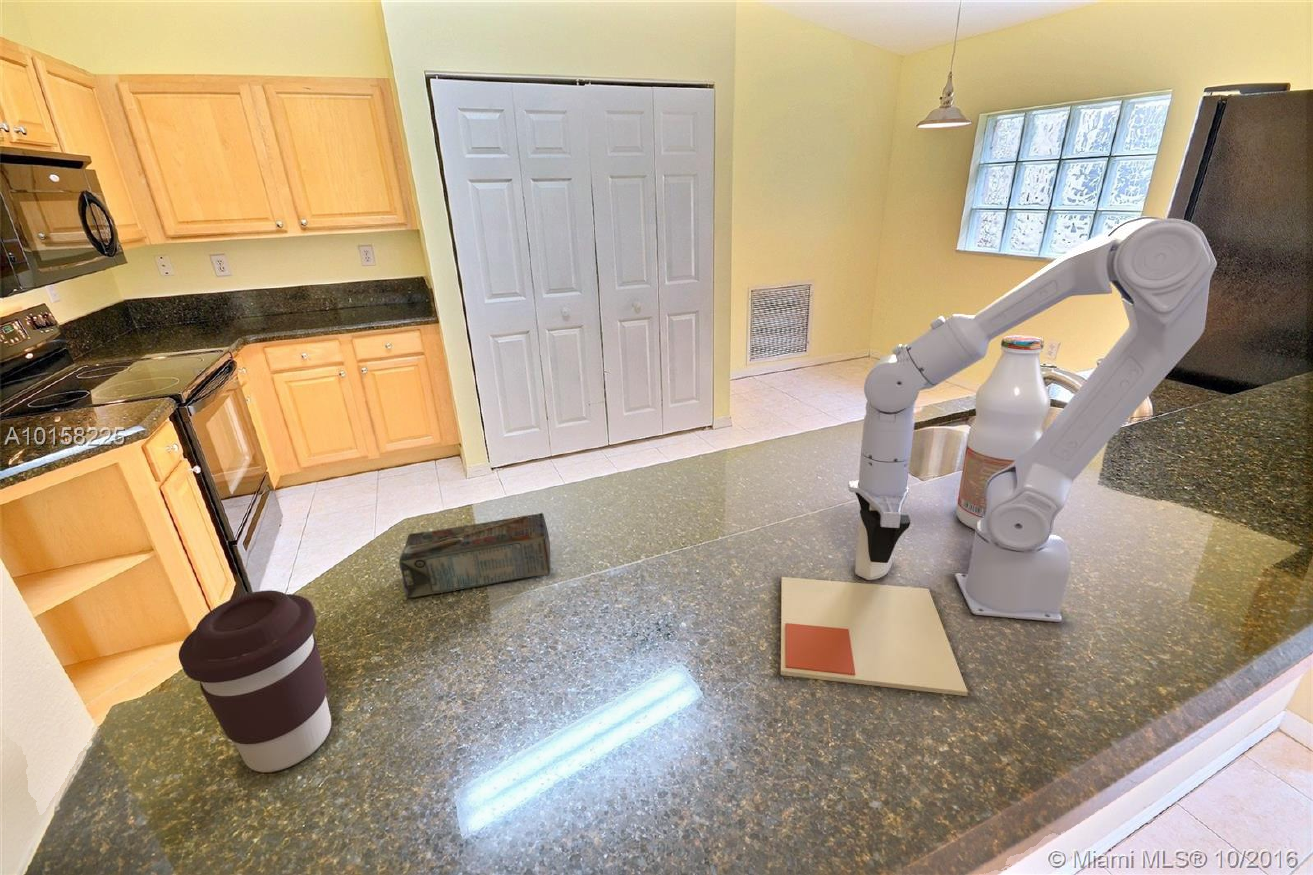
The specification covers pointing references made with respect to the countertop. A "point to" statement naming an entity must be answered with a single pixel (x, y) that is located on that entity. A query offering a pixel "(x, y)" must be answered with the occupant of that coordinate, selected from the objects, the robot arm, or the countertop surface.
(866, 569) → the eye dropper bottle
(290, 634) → the coffee cup
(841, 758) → the countertop surface
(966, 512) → the fruit juice
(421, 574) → the beverage carton
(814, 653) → the mat
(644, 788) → the countertop surface
